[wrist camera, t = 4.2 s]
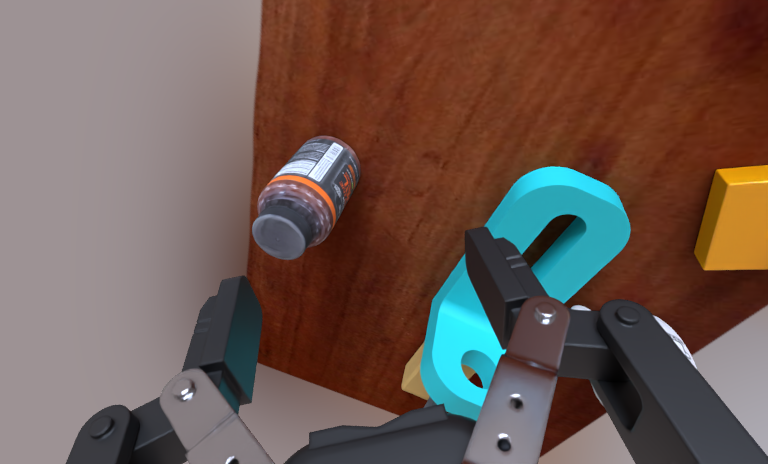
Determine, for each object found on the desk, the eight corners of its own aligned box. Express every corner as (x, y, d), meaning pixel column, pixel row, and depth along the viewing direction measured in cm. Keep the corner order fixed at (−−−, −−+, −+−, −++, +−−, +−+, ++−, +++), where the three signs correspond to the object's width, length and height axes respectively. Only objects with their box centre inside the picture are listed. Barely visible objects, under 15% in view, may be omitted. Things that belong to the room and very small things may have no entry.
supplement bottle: (363, 195, 37) (322, 278, 29) (304, 187, 38) (247, 264, 30) (362, 136, 34) (313, 211, 25) (296, 129, 35) (228, 199, 26)
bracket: (508, 332, 44) (510, 437, 35) (432, 300, 44) (414, 397, 35) (642, 200, 31) (698, 313, 22) (535, 152, 31) (548, 248, 22)
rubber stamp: (444, 381, 53) (432, 477, 44) (405, 364, 53) (384, 457, 44) (480, 343, 47) (475, 447, 38) (436, 324, 46) (419, 424, 37)
